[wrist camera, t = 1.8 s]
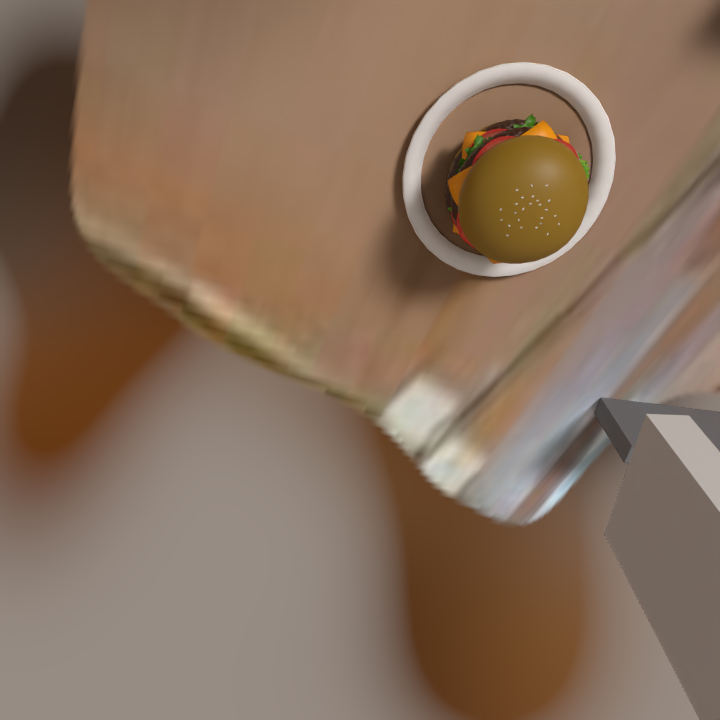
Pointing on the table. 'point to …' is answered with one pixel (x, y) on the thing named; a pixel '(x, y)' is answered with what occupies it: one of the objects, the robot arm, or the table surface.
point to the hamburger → (513, 178)
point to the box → (628, 418)
